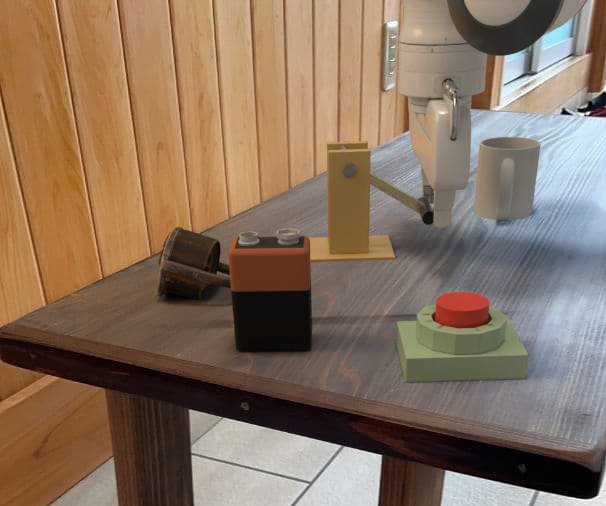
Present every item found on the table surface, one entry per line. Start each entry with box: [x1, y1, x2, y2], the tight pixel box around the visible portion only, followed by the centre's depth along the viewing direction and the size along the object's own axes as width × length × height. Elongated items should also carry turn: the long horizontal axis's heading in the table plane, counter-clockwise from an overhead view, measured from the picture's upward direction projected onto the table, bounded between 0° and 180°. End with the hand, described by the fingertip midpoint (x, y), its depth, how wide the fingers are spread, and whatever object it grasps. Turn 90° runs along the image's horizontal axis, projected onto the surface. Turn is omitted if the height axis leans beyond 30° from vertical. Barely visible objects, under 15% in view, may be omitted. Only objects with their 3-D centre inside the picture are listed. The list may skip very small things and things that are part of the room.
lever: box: [340, 145, 434, 226], centre depth 93 cm, size 12×6×2 cm
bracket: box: [308, 140, 396, 263], centre depth 94 cm, size 10×8×12 cm
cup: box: [473, 136, 542, 221], centre depth 104 cm, size 7×10×9 cm
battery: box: [228, 227, 313, 353], centre depth 75 cm, size 4×7×10 cm, turn 88°
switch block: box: [395, 303, 530, 383], centre depth 73 cm, size 10×8×4 cm
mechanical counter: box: [154, 226, 231, 301], centre depth 85 cm, size 7×13×10 cm
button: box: [435, 291, 491, 329], centre depth 71 cm, size 4×4×2 cm
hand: (435, 213), depth 95 cm, fingers open, 8 cm apart
